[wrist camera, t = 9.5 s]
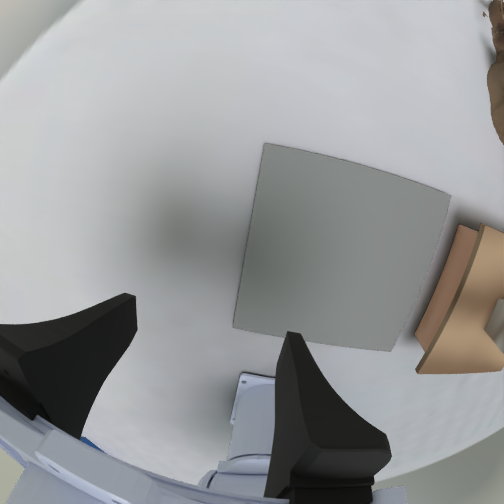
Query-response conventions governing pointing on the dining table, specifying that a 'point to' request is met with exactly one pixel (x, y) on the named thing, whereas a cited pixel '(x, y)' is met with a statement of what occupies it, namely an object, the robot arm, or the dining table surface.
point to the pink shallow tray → (446, 285)
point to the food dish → (497, 67)
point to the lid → (473, 315)
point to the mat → (335, 250)
